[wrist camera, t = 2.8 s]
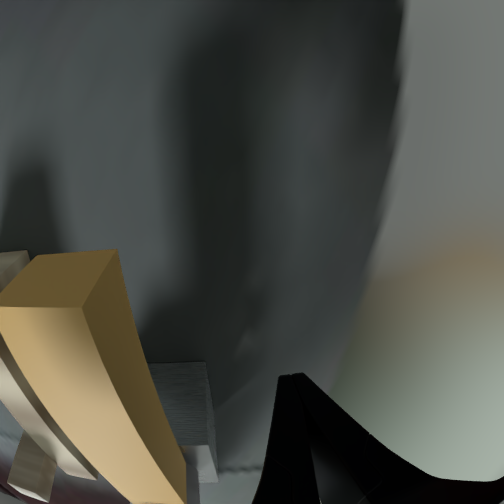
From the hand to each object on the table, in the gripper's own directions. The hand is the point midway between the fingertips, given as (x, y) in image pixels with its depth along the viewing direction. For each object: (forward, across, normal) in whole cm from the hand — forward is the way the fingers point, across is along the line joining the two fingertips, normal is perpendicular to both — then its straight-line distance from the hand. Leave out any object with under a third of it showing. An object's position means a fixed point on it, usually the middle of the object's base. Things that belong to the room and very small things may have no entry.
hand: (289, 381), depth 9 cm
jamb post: (+8, +6, +10) cm, 14 cm away
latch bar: (+1, +6, +4) cm, 8 cm away
